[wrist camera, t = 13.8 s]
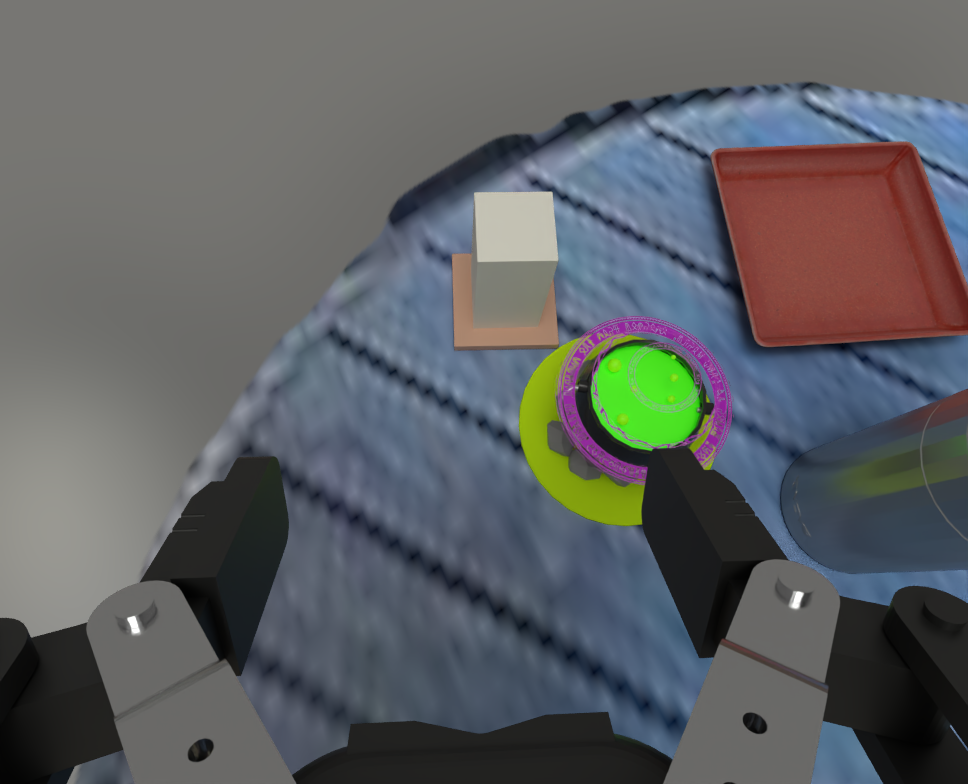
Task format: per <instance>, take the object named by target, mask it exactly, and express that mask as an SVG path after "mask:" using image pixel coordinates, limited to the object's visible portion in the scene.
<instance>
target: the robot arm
mask: <svg viewBox="0 0 968 784" xmlns="http://www.w3.org/2000/svg"><path fill="white" fill-rule="evenodd" d="M781 505H782V512H783V515H784V519H785V522H786V525H787V527H788V529H789V531H790V533H791V535H792V537H793V538H794V539H795V541H796V542H797V543H798V545H799V546H800V547H801V548H802V549H803V550H804V551H805V552H806V553H807V554H808V555H809V556H810V557H811V558H813V559H814V560H816V561H817V562H819V563H820V564H822V565H824V566H826V567H828V568H831V569H833V570H836V571H839V572H845V573H851V574H856V573H887V572H920V571H946V570H968V389H966V390H963V391H961V392H958V393H956V394H953V395H951V396H949V397H946V398H944V399H941V400H939V401H936V402H933V403H931V404H928V405H926V406H923V407H921V408H918V409H915V410H913V411H910V412H908V413H905V414H903V415H900V416H897V417H895V418H892V419H890V420H887V421H885V422H882V423H879V424H877V425H874V426H872V427H869V428H867V429H864V430H861V431H859V432H856V433H854V434H851V435H849V436H846V437H843V438H840V439H838V440H835V441H833V442H830V443H828V444H825V445H823V446H820V447H818V448H815V449H813V450H811V451H809V452H807V453H805V454H803V455H801V456H800V457H799V458H798V459H797V460H796V461H795V462H793V464H792V465H791V467H790V468H789V470H788V471H787V473H786V476H785V478H784V481H783V484H782V491H781ZM641 516H642V525H643V530H644V533H645V536H646V538H647V541H648V543H649V545H650V547H651V550H652V552H653V554H654V556H655V559H656V561H657V563H658V566H659V568H660V570H661V572H662V575H663V577H664V579H665V581H666V584H667V586H668V588H669V591H670V593H671V595H672V597H673V600H674V602H675V604H676V606H677V609H678V611H679V613H680V616H681V618H682V620H683V622H684V625H685V627H686V629H687V631H688V634H689V636H690V638H691V640H692V643H693V645H694V647H695V650H696V652H697V654H698V656H699V658H711V657H714V659H713V661H712V664H711V666H710V669H709V671H708V674H707V676H706V679H705V681H704V684H703V686H702V689H701V691H700V694H699V696H698V699H697V701H696V704H695V706H694V708H693V711H692V713H691V716H690V718H689V721H688V723H687V726H686V728H685V731H684V733H683V736H682V738H681V741H680V743H679V746H678V748H677V751H676V753H675V756H674V758H673V760H672V759H671V758H670V757H668V756H667V755H665V754H663V753H662V752H660V751H658V750H656V749H655V748H653V747H651V746H649V745H646V744H644V743H642V742H640V741H638V740H635V739H632V738H628V737H625V736H622V735H618V734H614V733H613V730H612V726H611V722H610V718H609V714H608V712H596V713H575V714H554V715H544V716H541V717H537V718H534V719H531V720H528V721H524V722H521V723H518V724H515V725H511V726H508V727H505V728H502V729H498V730H495V731H492V732H489V733H484V734H477V733H471V732H466V731H461V730H457V729H452V728H447V727H442V726H437V725H432V724H427V723H422V722H417V721H405V722H384V723H363V724H351V726H350V733H349V740H348V746H347V747H344V748H341V749H337V750H335V751H333V752H330V753H328V754H326V755H324V756H321V757H320V758H318V759H316V760H314V761H313V762H311V763H309V764H307V765H306V766H304V767H303V768H302V769H300V770H299V771H297V772H296V773H295V774H293V775H291V773H290V771H289V770H288V768H287V766H286V764H285V762H284V761H283V759H282V757H281V755H280V754H279V752H278V750H277V748H276V746H275V745H274V743H273V741H272V739H271V737H270V736H269V734H268V732H267V730H266V729H265V727H264V725H263V723H262V721H261V720H260V718H259V716H258V714H257V713H256V711H255V709H254V707H253V705H252V704H251V702H250V700H249V698H248V697H247V695H246V693H245V691H244V689H243V688H242V686H241V684H240V682H239V681H238V679H237V677H236V676H241V674H242V672H243V669H244V666H245V663H246V660H247V657H248V654H249V651H250V648H251V645H252V643H253V640H254V637H255V634H256V631H257V628H258V625H259V622H260V619H261V616H262V614H263V611H264V608H265V605H266V602H267V599H268V596H269V593H270V590H271V587H272V585H273V582H274V579H275V576H276V573H277V570H278V567H279V564H280V561H281V558H282V556H283V553H284V550H285V547H286V544H287V539H288V529H289V520H288V512H287V506H286V500H285V494H284V489H283V483H282V477H281V471H280V466H279V462H278V460H277V458H276V457H274V456H272V457H239V458H237V459H236V461H235V463H234V464H233V466H232V468H231V470H230V472H229V473H228V475H227V477H226V479H225V481H217V482H210V483H209V484H208V485H207V486H205V487H204V488H203V489H202V490H200V491H199V492H198V493H197V494H195V495H194V496H193V497H192V498H191V499H190V501H189V503H188V504H187V506H186V508H185V509H184V511H183V513H182V514H181V518H179V519H178V521H177V522H176V524H175V526H174V527H173V529H172V530H173V531H172V533H170V534H169V535H168V537H167V539H166V540H165V542H164V544H163V545H162V547H161V549H160V550H159V552H158V553H157V555H156V557H155V558H154V560H153V562H152V563H151V565H150V566H149V568H148V570H147V571H146V573H145V575H144V576H143V578H142V580H141V581H140V583H137V584H134V585H131V586H128V587H126V588H124V589H121V590H120V591H118V592H116V593H114V594H113V595H111V596H109V597H108V598H107V599H105V600H104V601H103V602H102V603H101V604H100V605H99V606H97V608H96V609H95V610H94V612H93V613H92V614H91V616H90V618H89V620H88V622H87V623H84V624H81V625H77V626H74V627H70V628H66V629H62V630H59V631H55V632H51V633H48V634H44V635H40V636H37V637H33V638H31V637H30V635H29V633H28V630H27V628H26V627H25V625H24V624H23V623H22V622H20V621H18V620H15V619H10V618H0V784H67V782H68V779H69V777H70V775H71V773H72V771H73V769H74V767H75V766H76V765H79V764H82V763H85V762H88V761H91V760H94V759H97V758H100V757H103V756H106V755H109V754H112V753H115V752H118V751H121V750H124V752H125V755H126V758H127V761H128V764H129V767H130V770H131V773H132V776H133V779H134V782H135V784H811V779H812V774H813V769H814V763H815V758H816V753H817V748H818V742H819V737H820V732H821V727H822V722H823V721H826V722H830V723H834V724H838V725H842V726H846V727H850V728H852V729H853V731H854V733H855V734H856V736H857V738H858V740H859V742H860V743H861V745H862V747H863V749H864V750H865V752H866V754H867V756H868V757H869V759H870V761H871V763H872V765H873V766H874V768H875V770H876V772H877V773H878V775H879V777H880V779H881V780H882V782H883V784H968V751H967V750H966V748H965V747H964V746H963V744H962V743H961V741H960V740H959V739H958V737H957V736H956V734H955V733H954V732H953V730H952V729H951V728H950V725H952V727H953V728H954V730H955V731H956V732H957V734H958V735H959V737H960V738H961V739H962V741H963V742H964V743H965V745H966V746H967V748H968V603H966V602H965V601H963V600H961V599H959V598H957V597H955V596H953V595H951V594H949V593H946V592H943V591H940V590H937V589H933V588H929V587H923V586H908V587H904V588H902V589H899V590H898V591H897V592H896V593H895V594H894V596H893V599H892V601H891V603H890V606H886V605H881V604H876V603H871V602H866V601H861V600H856V599H851V598H847V597H843V596H839V594H838V592H837V590H836V589H835V587H834V586H833V585H832V584H831V583H830V581H829V580H828V579H826V578H825V577H824V576H823V575H821V574H820V573H818V572H817V571H815V570H813V569H811V568H809V567H807V566H805V565H802V564H800V563H796V562H793V561H789V560H788V559H787V557H786V556H785V554H784V553H783V552H782V550H781V549H780V547H779V546H778V545H777V543H776V542H775V540H774V539H773V538H772V536H771V535H770V533H769V532H768V531H767V529H766V528H765V526H764V525H763V524H762V522H761V521H760V520H759V518H758V517H757V516H756V517H755V513H754V511H753V510H752V508H751V507H750V506H749V504H748V503H745V499H744V497H743V496H742V494H741V493H740V492H739V490H738V489H737V487H736V486H735V485H734V483H732V482H731V481H729V480H728V479H727V478H725V477H724V476H722V475H721V474H720V473H718V472H717V471H715V470H704V469H703V467H702V466H701V464H700V463H699V461H698V460H697V458H696V457H695V455H694V454H693V452H692V451H691V450H690V449H689V448H654V449H652V451H651V453H650V456H649V462H648V468H647V475H646V481H645V488H644V494H643V501H642V509H641Z"/></svg>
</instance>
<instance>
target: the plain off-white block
mask: <svg viewBox="0 0 968 784" xmlns="http://www.w3.org/2000/svg"><path fill="white" fill-rule="evenodd" d="M557 264H558V251H557V240H556V229H555V218H554V207H553V196H552V192H487V193H474V213H473V235H472V257H471V286H472V311H473V328H518V327H538V325H539V322H540V318H541V315H542V312H543V309H544V305H545V302H546V299H547V296H548V293H549V289H550V286H551V283H552V280H553V276H554V273H555V270H556V267H557Z"/></svg>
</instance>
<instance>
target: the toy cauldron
mask: <svg viewBox="0 0 968 784" xmlns="http://www.w3.org/2000/svg"><path fill="white" fill-rule="evenodd" d="M629 317H643V316H629ZM621 318H626V319H623V320H622V319H621V320H617V321H616V320H615V319H613V320H615V321H612V320H609V321H612V322H609V321H607V322H609V323H607V324H604V323H606V322H604V323H602V324H604V325H603V326H606V325H608V324H611V323H614V322H618V321H624V320H633V318H631V319H630V318H629V319H627V317H621ZM645 318H646V319H644V318H643V319H641V318H640V319H639V320H650V319H647V318H651V317H645ZM616 319H620V318H616ZM635 319H636V318H634V320H635ZM652 319H656V318H652ZM652 319H651V320H650V321H655V322H659V321H658V320H660V319H657V321H656V320H652ZM637 320H638V318H637ZM661 321H664V320H661ZM661 321H660V322H659V323H663V324H666V323H664V322H667V321H664V322H661ZM633 322H634V323H635V324H636V325H635V324H634V323H633ZM645 322H647V321H627V322H621V323H616V324H613V325H617V324H618V325H617V326H614V329H615V327H616V329H617V327H618V328H619V329H617V332H618V333H617V332H616V330H614V329H613V325H610V326H607V327H605V328H603V329H601V330H599V331H597V332H596V333H594V334H592V335H590V334H591V333H593V332H594V331H596V330H597V329H599V328H601V327H603V326H602V325H601V324H600V325H601V327H600V326H599V325H598V326H599V328H597V329H594V328H595V327H594V328H592V329H594V330H592V329H591V330H592V332H590V333H588V332H589V331H591V330H589V331H588V332H587V333H588V335H586V336H585V337H583V336H584V335H585V334H587V333H585V334H584V335H583V336H582V337H581V338H578V339H575V340H573V341H571V342H569V343H567V344H565V345H563V346H561V347H559V348H558V349H557V350H555V351H554V352H553V353H552V354H550V355H549V356H548V357H547V358H545V359H544V360H543V362H542V363H541V364H540V365H539V367H538V368H537V369H536V370H535V372H534V373H533V374H532V376H531V378H530V380H529V382H528V384H527V386H526V388H525V390H524V394H523V398H522V401H521V405H520V414H519V431H520V438H521V445H522V448H523V451H524V454H525V456H526V459H527V462H528V464H529V466H530V468H531V469H532V471H533V473H534V475H535V476H536V478H537V480H538V481H539V482H540V484H541V485H542V486H543V487H544V488H545V489H546V490H547V492H548V493H549V494H550V495H551V496H552V497H553V498H554V499H556V500H557V501H558V502H560V503H561V504H562V505H563V506H565V507H566V508H567V509H569V510H571V511H573V512H575V513H577V514H578V515H580V516H582V517H584V518H586V519H589V520H593V521H596V522H600V523H603V524H607V525H619V526H633V525H641V524H642V516H641V509H642V501H643V494H644V488H645V481H646V475H647V468H648V462H649V456H650V453H651V451H652V449H654V448H689V449H690V450H691V451H692V452H693V454H694V455H695V457H696V458H697V460H698V461H699V463H700V464H701V466H702V467H703V469H704V470H710V469H711V466H712V464H713V461H714V458H715V457H716V456H717V454H718V453H719V452H720V450H721V448H722V447H721V448H720V450H719V449H718V448H719V447H720V445H721V443H722V441H723V440H724V437H725V435H726V434H725V433H726V432H727V431H726V430H727V427H729V429H730V425H731V419H730V418H729V416H730V415H729V413H730V410H731V418H732V401H731V406H729V404H730V403H729V399H730V400H731V394H730V395H728V393H730V390H729V392H728V389H729V386H728V389H727V386H726V385H728V383H727V384H726V383H725V382H727V380H726V381H725V379H726V377H725V375H724V376H723V374H724V373H723V374H722V372H723V371H722V372H721V371H720V370H722V369H719V367H720V365H719V363H718V362H717V360H716V359H715V357H714V356H713V355H712V353H711V352H710V351H709V350H708V349H707V348H706V347H705V345H704V344H703V346H704V347H705V348H703V346H701V344H702V343H701V342H700V341H699V340H698V339H697V338H696V337H694V336H693V335H692V334H690V333H689V332H687V331H686V330H684V329H682V328H681V329H682V330H684V331H686V332H687V333H689V334H690V335H692V336H693V337H694V338H692V337H691V336H690V335H688V334H687V333H685V332H683V331H682V330H680V329H677V328H675V327H674V326H676V325H674V324H672V323H670V324H672V325H674V326H672V325H669V324H666V325H668V326H671V327H673V328H675V329H677V330H679V331H681V332H683V333H684V334H686V335H688V336H689V337H690V338H692V339H693V340H694V341H696V342H697V340H698V341H699V342H700V343H701V344H699V342H697V343H698V344H699V345H700V346H701V347H702V348H703V349H704V350H705V349H707V350H708V351H709V352H710V353H711V355H712V356H713V357H714V359H713V357H711V355H710V354H709V353H708V352H707V350H705V351H706V352H707V354H708V355H709V356H710V357H711V359H712V360H713V362H714V363H715V365H716V366H717V365H719V367H718V366H717V368H718V370H719V372H720V374H721V376H722V379H723V382H724V385H725V388H726V392H727V397H728V420H727V426H726V429H725V432H724V435H723V438H722V440H721V442H720V444H719V446H718V447H717V449H716V446H717V444H718V442H719V440H720V438H721V436H722V433H723V430H724V426H725V422H726V414H727V412H726V411H727V403H726V395H725V391H724V393H721V391H720V390H724V387H723V383H722V380H721V378H720V375H719V373H718V371H717V369H716V368H715V366H714V364H713V363H712V361H711V360H710V358H709V357H708V356H707V355H706V353H705V352H704V351H703V350H702V349H701V348H700V347H699V346H698V345H697V344H696V343H695V342H693V341H692V340H691V339H689V338H688V337H686V336H685V335H683V334H682V333H680V332H678V331H676V330H674V329H672V328H670V327H667V326H664V325H661V324H657V323H653V322H647V323H648V324H649V325H648V324H647V323H645ZM625 323H628V324H629V326H630V328H631V329H630V328H629V326H628V328H627V330H628V329H629V330H631V331H626V327H627V325H628V324H626V326H625ZM638 323H642V324H643V327H641V326H642V324H641V325H640V324H639V325H640V329H641V330H640V329H639V325H638ZM667 323H669V322H667ZM632 324H633V326H634V327H635V326H636V327H635V328H636V329H637V330H636V329H635V328H634V327H633V326H632ZM652 324H654V325H652ZM651 325H652V326H651ZM658 326H659V327H658ZM596 327H597V326H596ZM608 327H611V328H612V329H613V331H612V329H611V328H608ZM644 327H645V329H644ZM647 327H648V328H647ZM651 327H652V328H651ZM665 327H666V328H665ZM677 327H678V326H677ZM656 328H657V329H658V331H657V332H656V333H655V332H654V331H656ZM663 328H664V330H663ZM679 328H680V327H679ZM633 329H634V330H633ZM638 329H639V330H638ZM652 329H653V330H652ZM659 329H660V331H659ZM666 329H667V331H666ZM603 330H605V331H606V332H607V333H606V332H605V331H604V332H603ZM618 330H619V331H618ZM609 331H612V332H613V333H612V332H610V333H609ZM636 331H637V332H638V331H639V332H641V331H642V332H651V333H655V334H659V335H662V336H664V337H667V338H669V339H671V340H673V341H675V342H677V343H679V342H681V339H682V342H681V343H679V344H680V345H682V344H684V343H685V342H686V343H685V344H684V346H683V345H682V346H683V347H684V348H686V347H687V348H686V349H687V350H688V351H689V352H690V353H692V355H693V356H694V357H695V358H696V359H697V360H698V361H699V363H700V364H701V365H702V367H703V368H704V370H705V371H706V373H707V375H708V377H709V380H710V382H711V385H712V388H713V392H714V399H715V406H714V404H713V403H710V401H709V399H708V397H707V394H706V389H705V386H704V384H703V381H702V378H701V373H699V372H698V369H699V367H698V369H696V367H695V366H696V365H693V364H692V363H691V362H693V361H690V357H689V359H688V358H687V357H686V356H688V355H686V356H685V355H683V354H682V353H680V352H682V350H684V349H682V348H683V347H682V348H681V349H682V350H681V349H679V350H680V352H679V351H678V350H677V349H676V348H673V347H672V346H670V345H667V344H669V343H665V344H664V343H661V342H658V341H655V340H647V339H643V338H640V337H636V336H632V335H629V333H628V332H631V333H630V334H632V332H635V333H636ZM598 332H600V333H601V334H600V333H599V334H597V333H598ZM626 332H627V334H626ZM660 332H661V333H663V332H665V333H663V334H660ZM622 333H623V334H622ZM646 334H649V333H646ZM665 334H666V335H665ZM680 335H681V336H683V338H682V337H681V336H680ZM657 336H658V335H657ZM679 336H680V337H681V338H680V337H679ZM660 337H661V336H660ZM674 337H675V338H676V340H677V339H678V338H679V339H680V340H679V339H678V340H679V342H678V341H676V340H674ZM695 338H696V339H697V340H695ZM687 339H688V340H689V341H688V340H687ZM686 340H687V341H686ZM692 342H693V343H694V344H693V343H692ZM687 343H688V344H687ZM686 344H687V345H686ZM671 345H673V344H671ZM685 345H686V346H685ZM689 345H691V346H692V347H693V348H692V347H691V346H689ZM674 346H676V345H674ZM688 346H689V347H688ZM677 347H678V346H677ZM690 347H691V348H690ZM696 347H698V348H696ZM679 348H680V347H679ZM689 348H690V349H689ZM694 349H695V350H694ZM697 349H698V350H697ZM696 350H697V351H696ZM684 351H685V350H684ZM693 351H696V352H695V354H694V352H693ZM701 351H702V353H701V354H700V355H701V356H702V355H703V356H702V357H701V356H700V355H699V356H700V357H701V358H700V357H698V355H697V354H699V353H700V352H701ZM685 352H686V351H685ZM688 354H689V353H688ZM704 354H705V355H704ZM689 355H690V354H689ZM696 355H697V356H696ZM690 356H691V355H690ZM691 357H692V356H691ZM692 358H693V357H692ZM699 358H700V359H699ZM693 360H694V359H693ZM714 360H716V362H717V363H718V364H716V362H715V361H714ZM694 361H695V360H694ZM708 361H709V362H708ZM705 362H706V363H705ZM693 363H694V362H693ZM695 363H696V361H695ZM695 363H694V364H695ZM704 363H705V365H706V366H705V367H704ZM696 364H697V363H696ZM707 364H708V365H707ZM711 365H712V366H711ZM697 366H698V365H697ZM708 366H710V367H708ZM722 367H723V366H722ZM709 368H710V370H707V369H709ZM712 368H713V369H712ZM720 368H721V367H720ZM711 369H712V370H713V371H711ZM714 369H715V370H714ZM723 369H724V368H723ZM699 371H700V369H699ZM708 371H711V372H712V373H711V372H708ZM724 371H725V370H724ZM714 373H716V374H714ZM717 373H718V376H717ZM710 374H712V375H710ZM712 376H713V378H711V377H712ZM723 377H725V379H724V378H723ZM719 380H721V382H719ZM712 381H715V383H713V382H712ZM717 382H718V383H717ZM729 383H730V382H729ZM718 390H719V391H718ZM717 391H718V392H719V393H721V394H720V395H719V394H717V393H718V392H717ZM717 395H718V396H717ZM729 396H730V398H729ZM717 397H718V398H717ZM720 397H721V399H723V398H725V400H721V402H720V401H719V399H720ZM733 402H734V399H733ZM730 407H731V409H730ZM717 408H718V409H717ZM720 409H722V414H721V412H718V411H721V410H720ZM725 412H726V413H725ZM724 413H725V414H724ZM722 415H723V416H724V417H725V420H723V419H724V417H723V416H722ZM721 416H722V417H721ZM733 418H734V417H733ZM729 419H730V425H729V426H728V424H729V423H728V421H729ZM715 421H717V423H716V422H715ZM723 422H724V423H723ZM716 424H717V425H716ZM717 428H718V429H717ZM729 429H728V432H729ZM717 430H718V431H717ZM727 436H728V433H727ZM727 436H726V438H727ZM726 438H725V441H726ZM725 441H724V443H725ZM724 443H723V445H724ZM723 445H722V446H723ZM715 449H716V450H715ZM717 450H719V451H718V453H717V454H716V456H715V457H714V455H715V453H716V452H717Z"/></svg>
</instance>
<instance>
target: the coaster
mask: <svg viewBox="0 0 968 784" xmlns="http://www.w3.org/2000/svg"><path fill="white" fill-rule="evenodd" d="M471 257H472V254H452V270H453V310H454V350H505V349H556V348H558V345H559V341H558V328H557V316H556V304H555V292H554V280H552V283H551V286H550V289H549V293H548V296H547V299H546V302H545V305H544V309H543V312H542V315H541V318H540V322H539V325H538V327H518V328H473V311H472V286H471Z"/></svg>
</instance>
